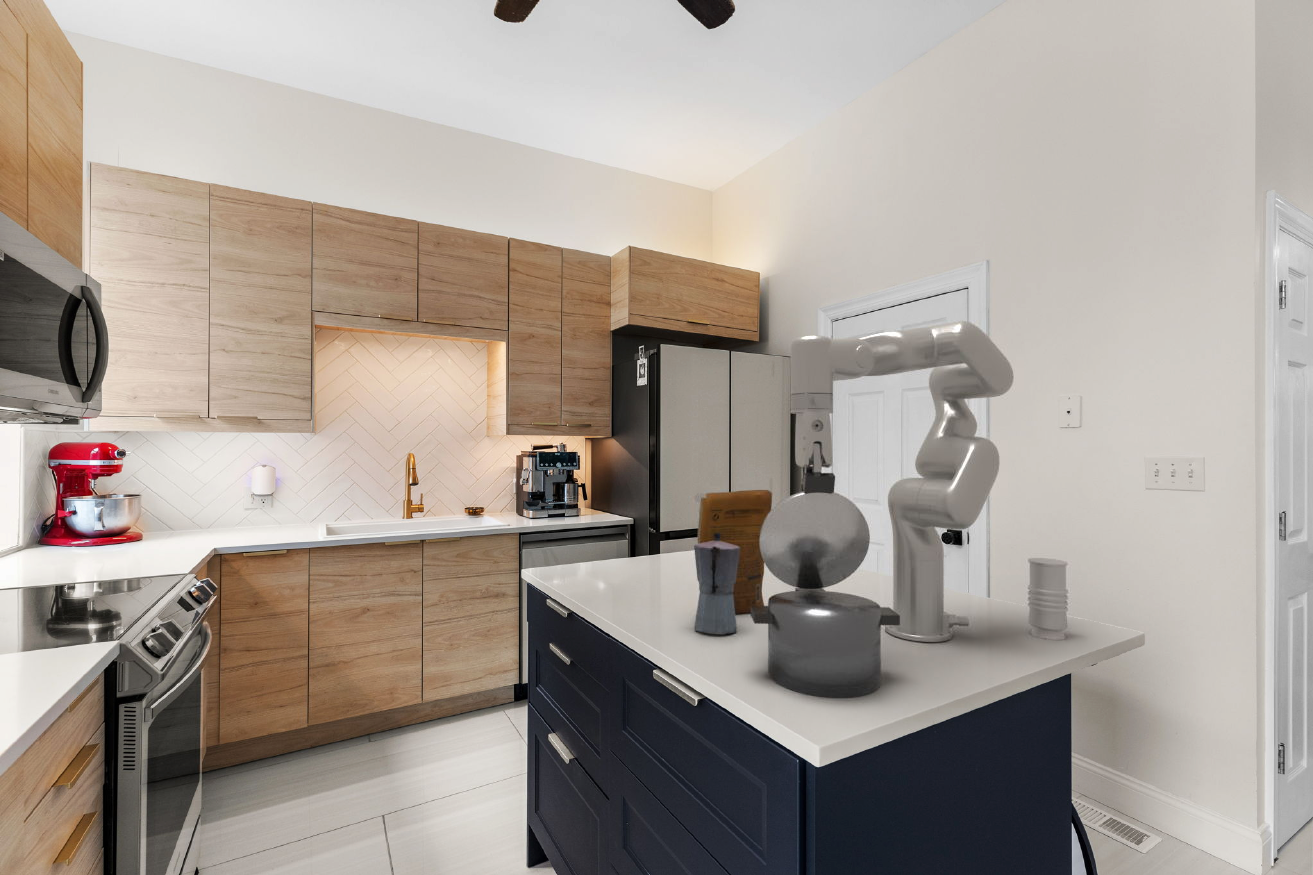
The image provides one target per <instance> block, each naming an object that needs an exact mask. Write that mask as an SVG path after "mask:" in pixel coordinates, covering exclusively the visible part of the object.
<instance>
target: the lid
mask: <svg viewBox="0 0 1313 875" xmlns="http://www.w3.org/2000/svg"><path fill="white" fill-rule="evenodd" d="M835 482H836V475H835V474H834V472H821V473H804V478H803V492H801V491H800V492H796V493H794V494H792V495H789V496H788V497H786V498H784V499H782V500H780V502H778V503H777V504H776V505H775V506H774V507H772V508H771V511H770V512H769V514H768V515H767V517H766V518H765V520H764V522H763V524H762V527H761V531H760V537H759V546H760V551H761V555H762V558H763V561H764V566H765V567H766V568H767V569H768V571H769V572H770V573H771V574H772V575H773V576H774V577H775V578H777V579H778V580H779V581H780V582H782V583H784V584H786V585H788V586H792V587H794V588H803V589H820V588H823V589H825V588H828V587H832V586H835V585H837V584H839V583H840V582H843V581H844V580H846V579H848V578H849V577H850V576H852V575H853V574H854V573H855V572H856V571H857V570H858V568H860V566H861V565H862V563H863V562H864V561H865V558H866V556H867V555H868V550H869V547H870V540H871V538H870V537H871V535H870V528H869V523H868V522H867V519H866V518H865V516H864V514H863V513H862V511H861V510H860V508H859V507H858V506H857V505H856V504H855V503H854V502H853V501H852V500H850V499H849V498H847V496H844V495H842V494H840V493H837V492H835Z"/></svg>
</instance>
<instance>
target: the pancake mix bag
mask: <svg viewBox="0 0 1313 875" xmlns="http://www.w3.org/2000/svg"><path fill="white" fill-rule="evenodd" d="M700 498H701V499H700V504H699V510H698V512H699V517H698V528H697V544H700V543H705V542H710V541H714V540H715V538H714V533H720V534H721V537H720V541H723V542H726V543H729V544H733V545H735V546H738V547H740V553H739V560H738V568H737V576H736V582H735V583H734V590H733V598H734V608H735V615H741V614H751V606H765V602H764V599H763V597H764V596H763V580H764V575H765V563H764V561H763V558H762V555H761V551H760V546H759V537H760V531H761V527H762V524H763V522H764V520H765V518H766V517H767V515H768V514H769V512H770V511H771V510H772V508H773V507H772V504H773V492H772V491H770V490H769V489H749V490H748V489H747V490H736V491H727V492H725V491H724V492H723V491H721V492H720V491H719V492H706V493H705V497H700Z"/></svg>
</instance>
